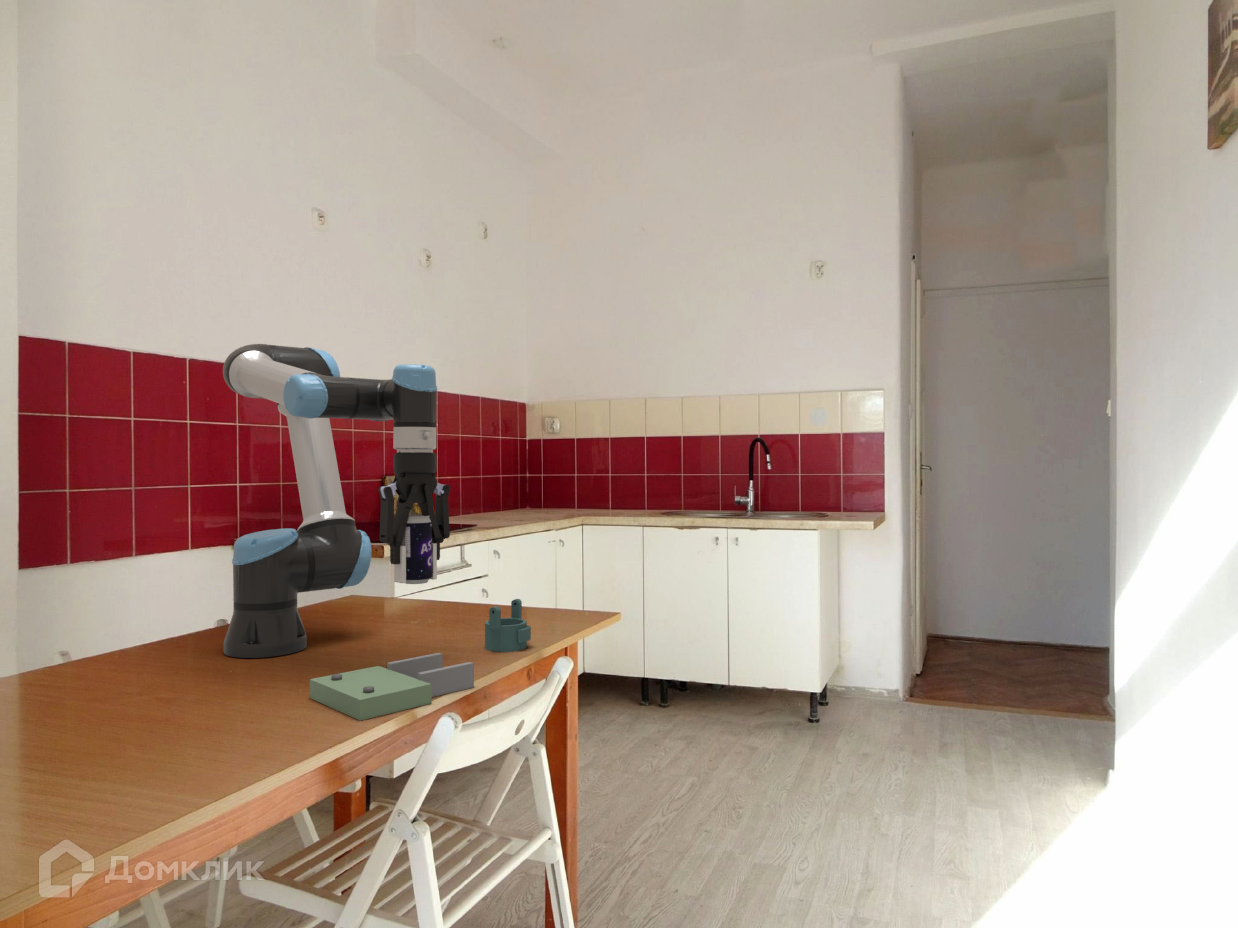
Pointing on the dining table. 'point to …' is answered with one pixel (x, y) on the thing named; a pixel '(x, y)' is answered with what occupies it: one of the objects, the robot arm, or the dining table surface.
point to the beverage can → (418, 549)
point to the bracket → (507, 630)
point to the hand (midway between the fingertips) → (415, 580)
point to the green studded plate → (391, 686)
